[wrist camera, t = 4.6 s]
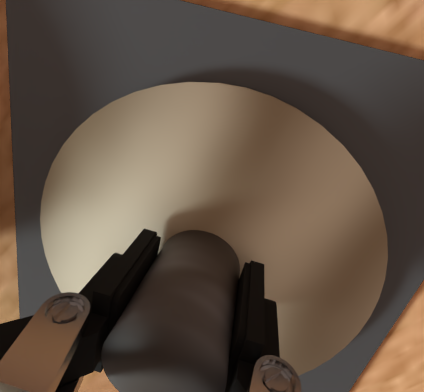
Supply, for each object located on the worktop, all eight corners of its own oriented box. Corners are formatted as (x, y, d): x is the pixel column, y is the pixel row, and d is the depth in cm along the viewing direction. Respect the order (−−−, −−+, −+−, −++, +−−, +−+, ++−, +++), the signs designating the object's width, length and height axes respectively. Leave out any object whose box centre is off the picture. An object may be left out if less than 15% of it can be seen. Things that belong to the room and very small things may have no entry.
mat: (536, 91, 10) (549, 91, 9) (321, 420, 17) (323, 430, 17) (14, -38, 11) (3, -43, 10) (26, 325, 18) (20, 331, 18)
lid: (454, 139, 10) (681, 209, 5) (304, 402, 16) (326, 571, 10) (56, 39, 11) (-148, -2, 6) (53, 322, 17) (-48, 438, 11)
